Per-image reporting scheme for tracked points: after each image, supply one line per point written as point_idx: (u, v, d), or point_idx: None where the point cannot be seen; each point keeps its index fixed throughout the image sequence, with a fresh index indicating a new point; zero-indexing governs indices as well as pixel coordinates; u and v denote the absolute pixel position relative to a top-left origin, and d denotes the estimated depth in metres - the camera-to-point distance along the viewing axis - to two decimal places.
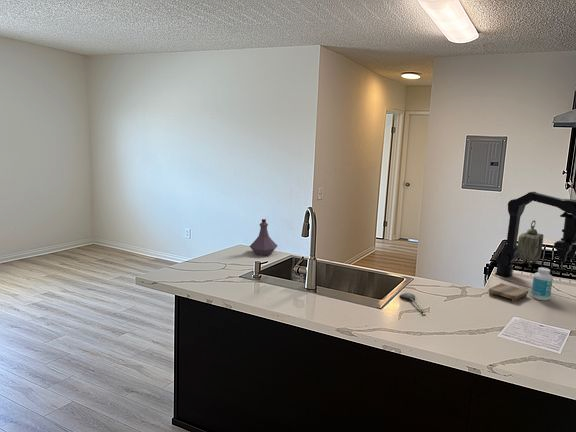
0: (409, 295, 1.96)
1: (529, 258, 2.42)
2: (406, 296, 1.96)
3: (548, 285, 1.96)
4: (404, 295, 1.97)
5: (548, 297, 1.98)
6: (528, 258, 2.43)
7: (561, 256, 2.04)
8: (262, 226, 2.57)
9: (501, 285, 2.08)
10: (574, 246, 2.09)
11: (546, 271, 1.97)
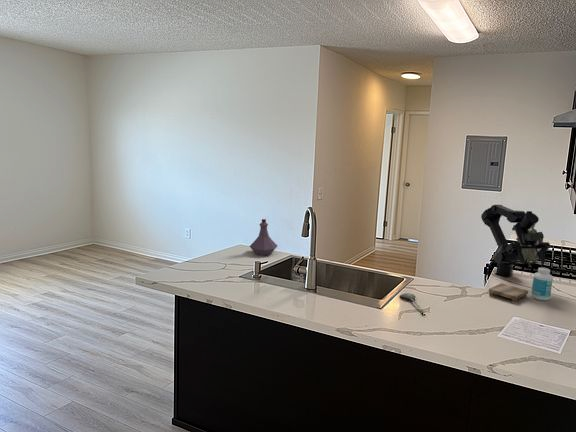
0: (409, 295, 1.96)
1: (529, 258, 2.42)
2: (406, 296, 1.96)
3: (548, 285, 1.96)
4: (404, 295, 1.97)
5: (548, 297, 1.98)
6: (528, 258, 2.43)
7: (519, 258, 2.08)
8: (262, 226, 2.57)
9: (501, 285, 2.08)
10: (540, 251, 2.10)
11: (546, 271, 1.97)
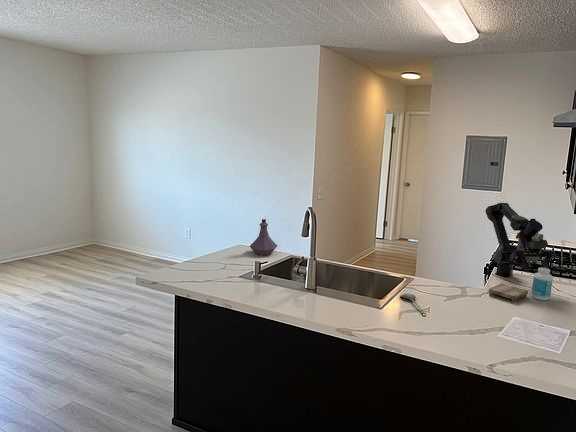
0: (409, 296, 1.96)
1: (529, 258, 2.42)
2: (406, 297, 1.95)
3: (548, 285, 1.96)
4: (404, 296, 1.96)
5: (548, 297, 1.98)
6: (528, 258, 2.43)
7: (523, 266, 2.05)
8: (262, 226, 2.57)
9: (501, 285, 2.08)
10: (545, 259, 2.06)
11: (546, 271, 1.97)
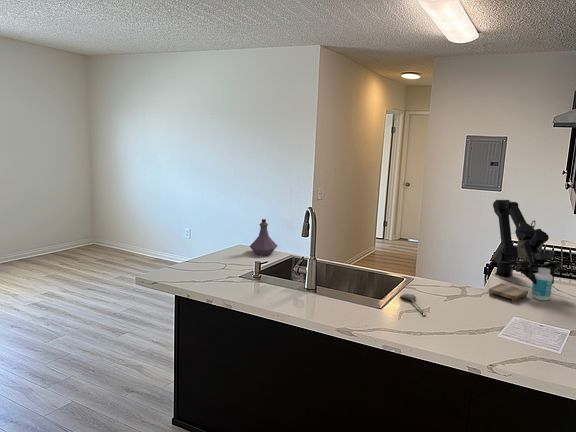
0: (410, 296, 1.95)
1: None
2: (407, 297, 1.95)
3: (548, 285, 1.96)
4: (405, 296, 1.96)
5: (548, 297, 1.98)
6: None
7: (530, 278, 2.00)
8: (262, 226, 2.57)
9: (501, 285, 2.08)
10: None
11: (546, 271, 1.97)
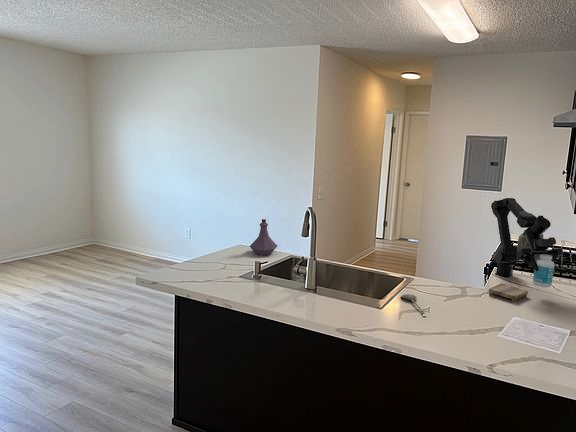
0: (410, 296, 1.95)
1: None
2: (407, 297, 1.94)
3: (550, 271, 1.95)
4: (405, 296, 1.95)
5: (550, 284, 1.97)
6: None
7: (532, 265, 1.99)
8: (262, 226, 2.57)
9: (501, 285, 2.08)
10: None
11: (548, 258, 1.95)
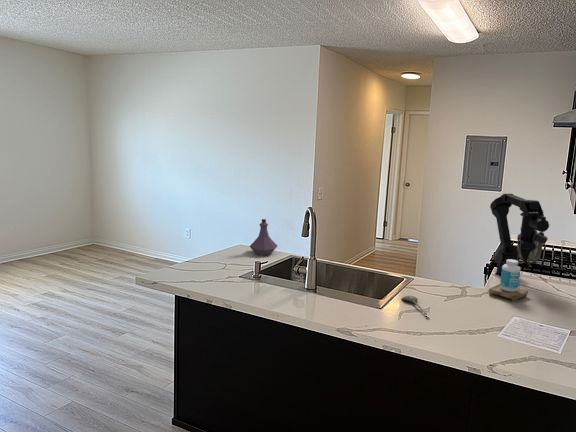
0: (411, 298, 1.93)
1: (529, 258, 2.42)
2: (408, 299, 1.93)
3: (512, 276, 1.97)
4: (406, 298, 1.94)
5: (513, 289, 1.99)
6: (528, 258, 2.43)
7: (524, 255, 2.10)
8: (262, 226, 2.57)
9: None
10: None
11: (511, 262, 1.98)
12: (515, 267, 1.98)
